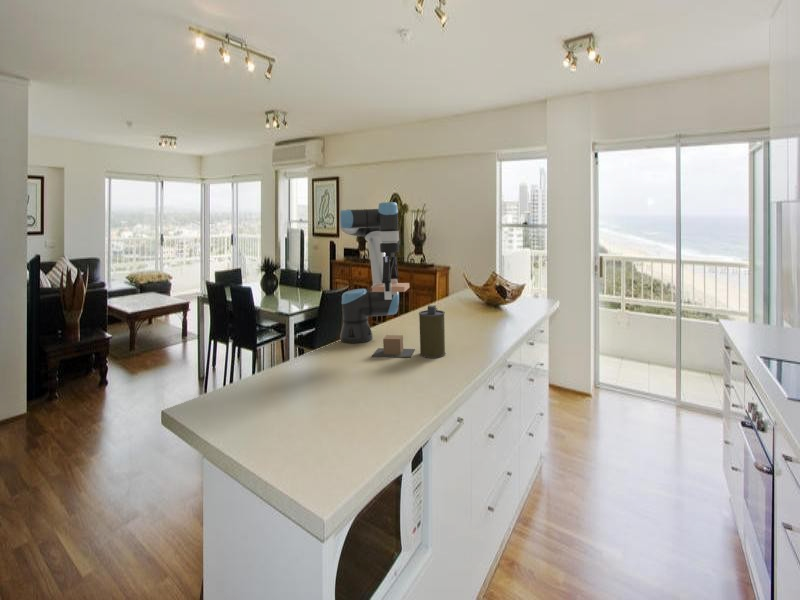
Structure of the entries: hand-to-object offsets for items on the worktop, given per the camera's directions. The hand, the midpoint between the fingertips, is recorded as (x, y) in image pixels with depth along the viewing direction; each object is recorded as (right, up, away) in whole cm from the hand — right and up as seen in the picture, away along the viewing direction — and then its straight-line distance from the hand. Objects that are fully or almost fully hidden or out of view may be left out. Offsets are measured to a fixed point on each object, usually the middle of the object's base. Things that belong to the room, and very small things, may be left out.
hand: (391, 296), depth 174 cm
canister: (+17, -23, +1) cm, 29 cm away
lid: (0, +3, 0) cm, 3 cm away
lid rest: (+1, -23, +4) cm, 24 cm away
